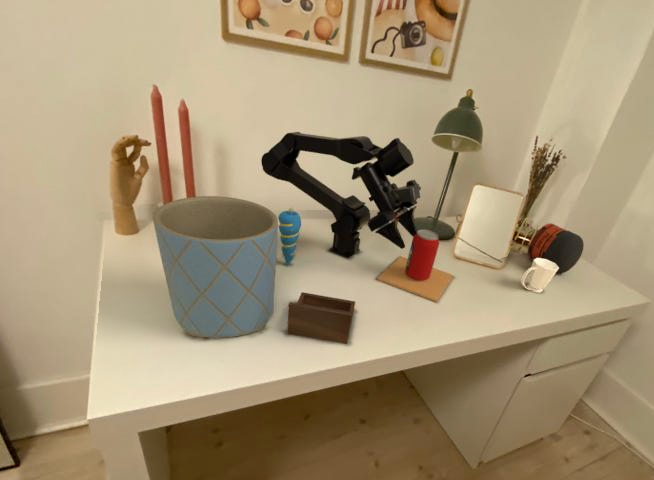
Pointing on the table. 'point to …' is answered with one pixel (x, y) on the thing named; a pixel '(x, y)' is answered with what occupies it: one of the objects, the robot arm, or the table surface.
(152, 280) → the table surface
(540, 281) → the cup
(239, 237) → the planter
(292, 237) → the ornament
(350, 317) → the open wooden box
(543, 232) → the oil filter
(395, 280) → the placemat
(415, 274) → the beverage can
